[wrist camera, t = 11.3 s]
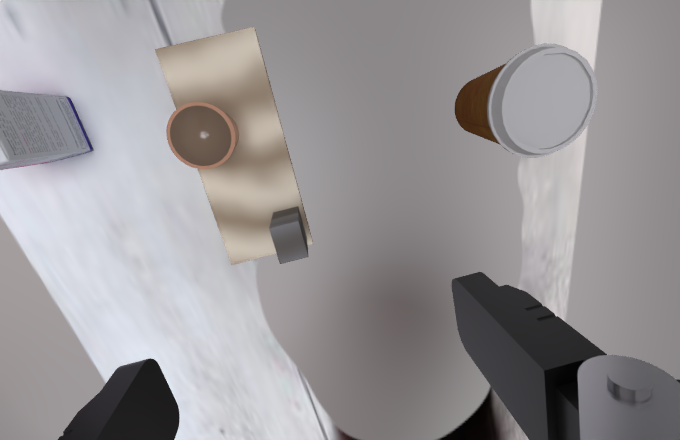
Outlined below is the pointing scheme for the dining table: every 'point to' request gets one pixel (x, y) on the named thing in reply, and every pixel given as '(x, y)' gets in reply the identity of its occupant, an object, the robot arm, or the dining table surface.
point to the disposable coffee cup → (531, 101)
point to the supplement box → (38, 129)
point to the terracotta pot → (202, 135)
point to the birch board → (243, 146)
